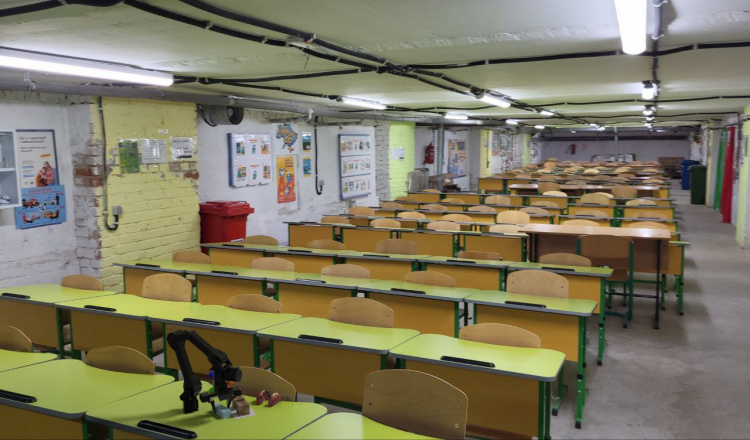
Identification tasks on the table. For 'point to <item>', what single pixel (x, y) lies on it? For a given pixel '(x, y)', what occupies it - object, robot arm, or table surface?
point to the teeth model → (265, 396)
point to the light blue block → (222, 411)
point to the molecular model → (211, 390)
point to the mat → (238, 415)
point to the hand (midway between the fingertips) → (221, 412)
